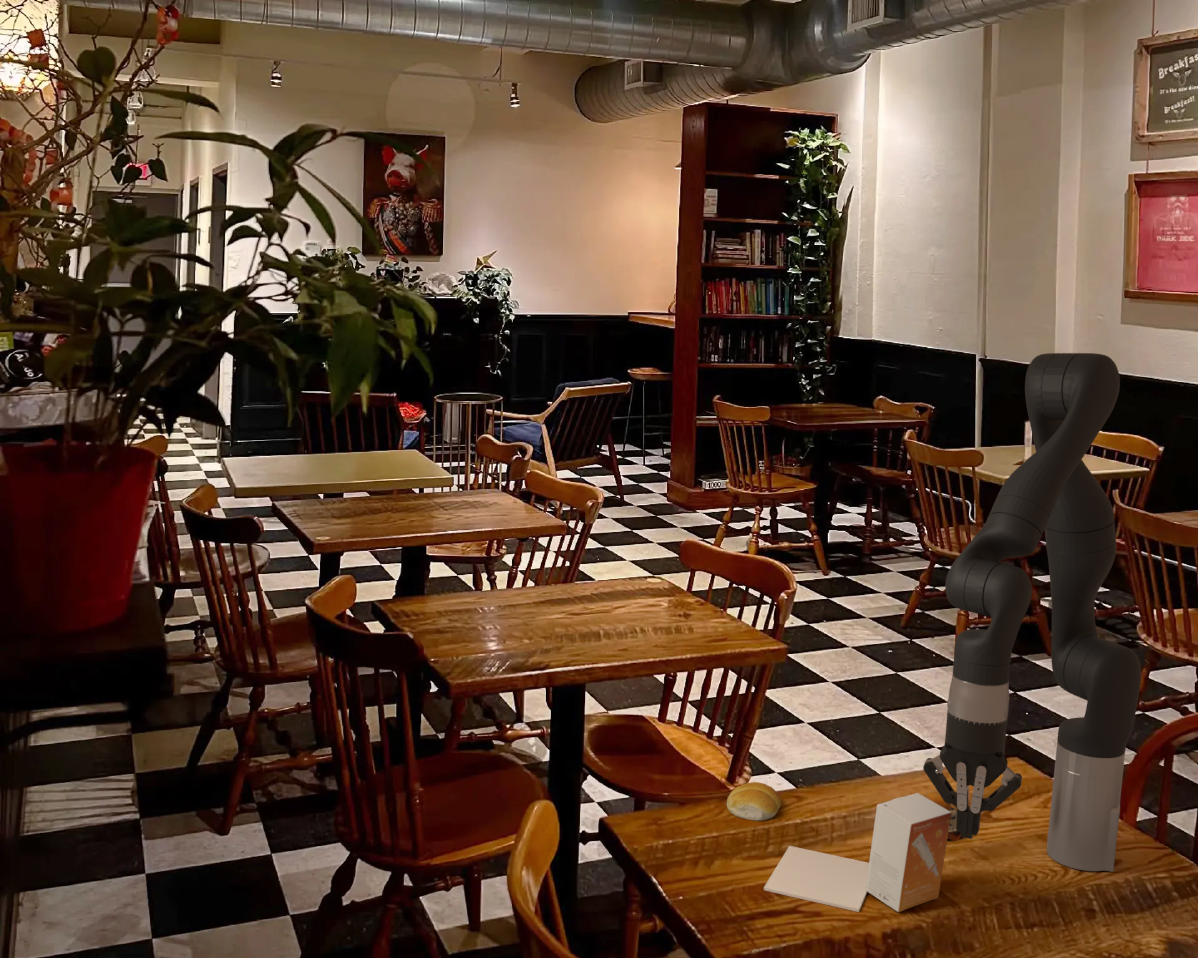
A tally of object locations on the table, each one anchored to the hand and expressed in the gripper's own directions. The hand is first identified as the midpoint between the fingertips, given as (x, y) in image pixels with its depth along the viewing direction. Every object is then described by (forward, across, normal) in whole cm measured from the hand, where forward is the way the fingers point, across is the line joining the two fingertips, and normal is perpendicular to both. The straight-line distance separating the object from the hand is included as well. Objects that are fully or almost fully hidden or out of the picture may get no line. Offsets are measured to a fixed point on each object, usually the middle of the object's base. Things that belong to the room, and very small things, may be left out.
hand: (966, 835), depth 158 cm
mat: (+11, +19, 0) cm, 21 cm away
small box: (+10, +8, 0) cm, 13 cm away
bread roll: (+11, +34, -18) cm, 40 cm away
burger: (+11, +8, -25) cm, 29 cm away
